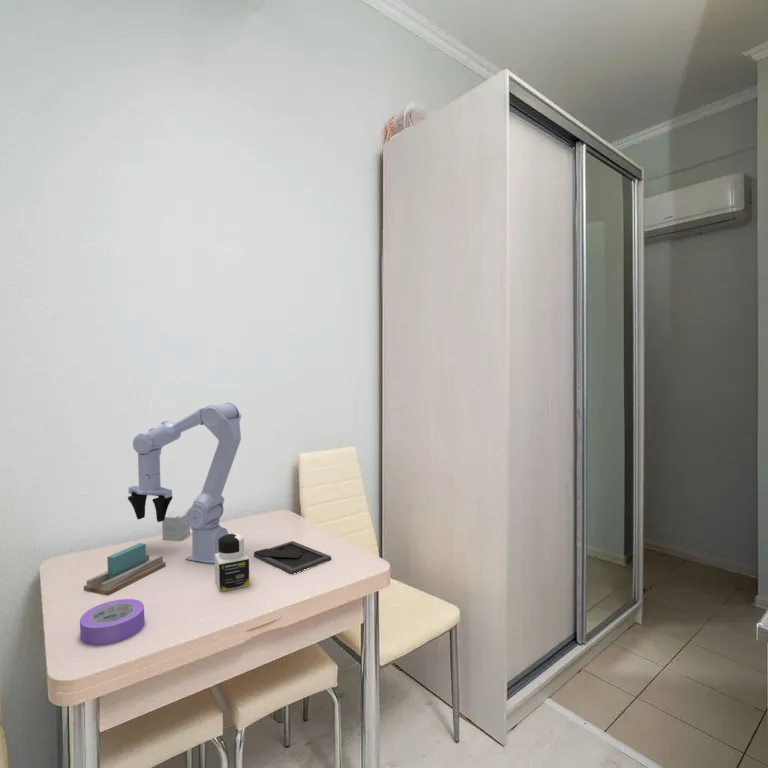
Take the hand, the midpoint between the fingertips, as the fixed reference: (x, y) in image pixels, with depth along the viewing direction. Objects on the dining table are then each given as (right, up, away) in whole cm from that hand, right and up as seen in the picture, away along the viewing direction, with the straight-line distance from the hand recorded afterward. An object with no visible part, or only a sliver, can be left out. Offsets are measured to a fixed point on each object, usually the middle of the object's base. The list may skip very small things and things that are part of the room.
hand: (150, 519), depth 145 cm
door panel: (+2, -9, -17) cm, 20 cm away
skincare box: (+2, -9, +12) cm, 16 cm away
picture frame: (+42, -10, -6) cm, 44 cm away
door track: (+2, -10, -17) cm, 20 cm away
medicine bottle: (+30, -10, -21) cm, 39 cm away
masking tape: (+12, -12, -42) cm, 46 cm away
